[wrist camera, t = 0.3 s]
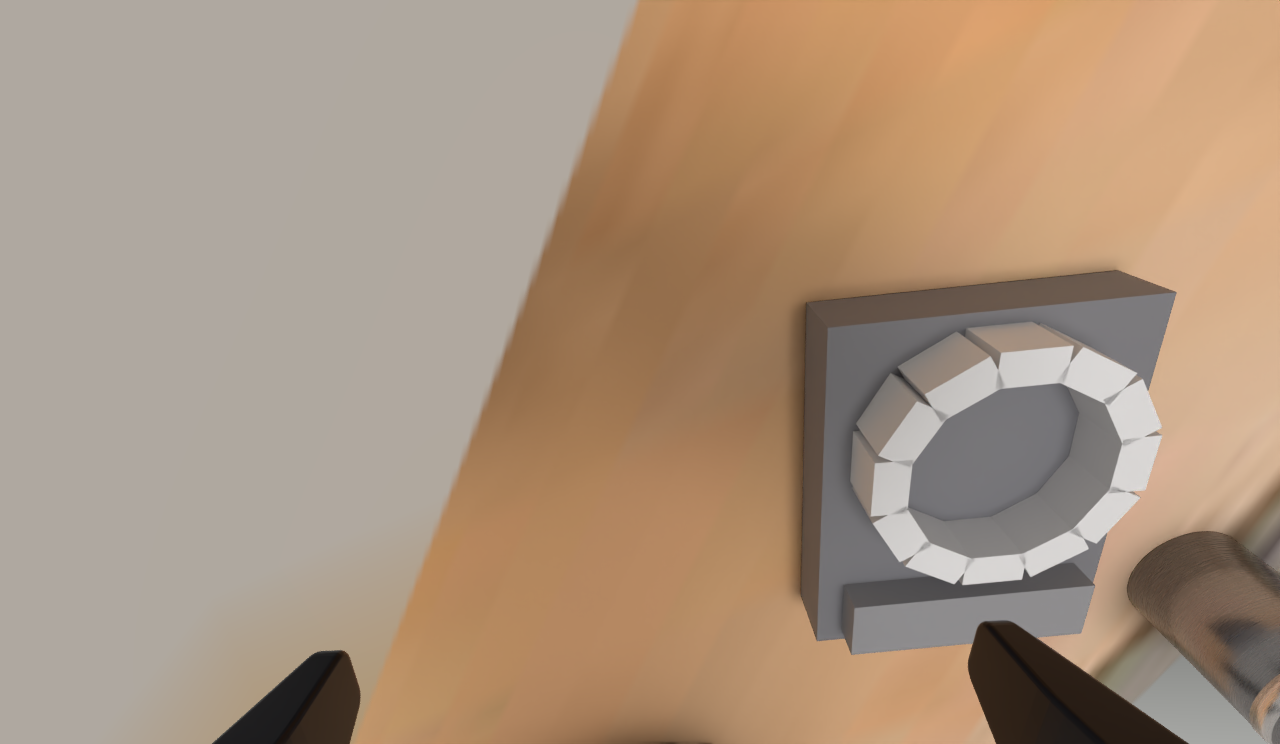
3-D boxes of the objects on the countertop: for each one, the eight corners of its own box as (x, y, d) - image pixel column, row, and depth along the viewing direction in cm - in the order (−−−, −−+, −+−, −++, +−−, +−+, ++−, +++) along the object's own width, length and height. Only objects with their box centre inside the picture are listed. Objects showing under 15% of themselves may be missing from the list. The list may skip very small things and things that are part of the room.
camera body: (1045, 572, 27) (1119, 657, 23) (800, 595, 28) (832, 683, 24) (1118, 270, 22) (1234, 313, 17) (806, 302, 22) (849, 352, 18)
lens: (1223, 610, 29) (1430, 791, 22) (1114, 621, 29) (1283, 803, 22) (1259, 525, 27) (1503, 693, 19) (1141, 536, 27) (1339, 708, 19)
